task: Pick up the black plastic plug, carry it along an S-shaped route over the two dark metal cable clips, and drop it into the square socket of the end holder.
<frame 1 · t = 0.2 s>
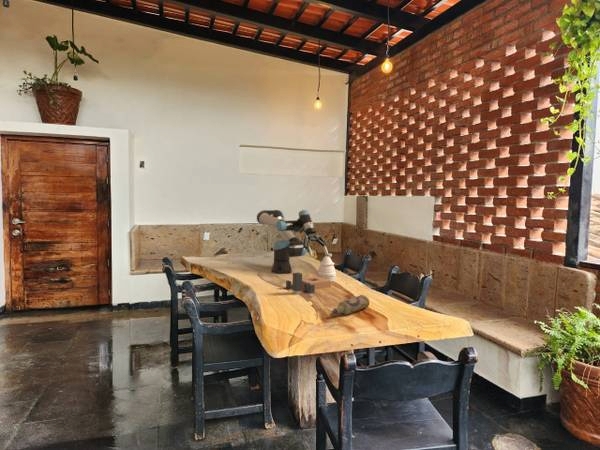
hand: (319, 255, 265), 16 cm above the table, tool tilted 35°, fingers open, 13 cm apart
clip b: (309, 291, 226), on the table
honey pot: (326, 280, 258), on the table
plug: (297, 293, 222), on the table
clip a: (291, 288, 234), on the table
end holder: (313, 285, 241), on the table
decorative bottle: (348, 312, 189), on the table
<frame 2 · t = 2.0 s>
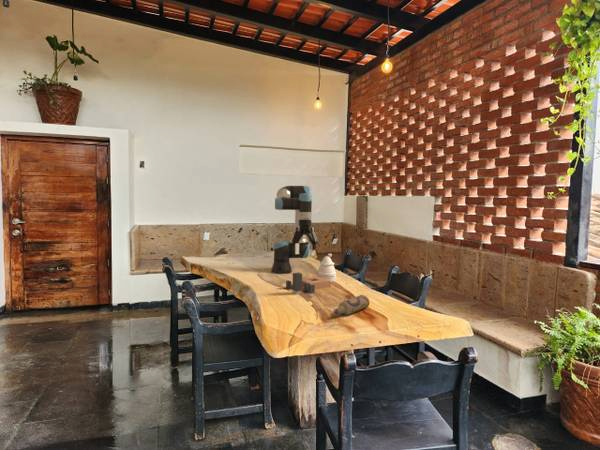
hand: (304, 254, 225), 22 cm above the table, tool pointing down, fingers open, 13 cm apart
nothing on the table moved.
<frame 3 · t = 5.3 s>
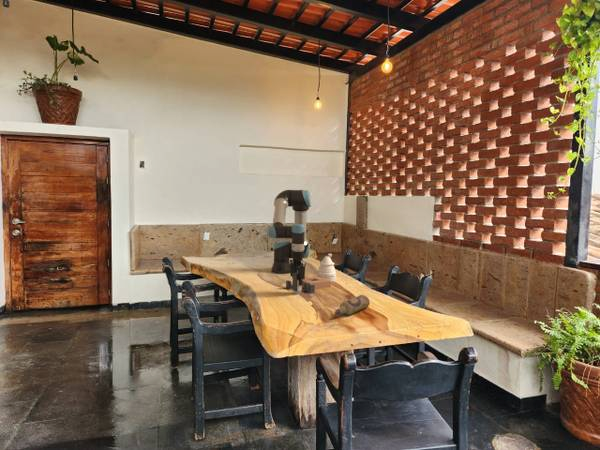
hand: (297, 289, 222), 2 cm above the table, tool pointing down, fingers closed on plug, 4 cm apart
plug: (297, 293, 222), on the table, touching gripper
everything else where it was.
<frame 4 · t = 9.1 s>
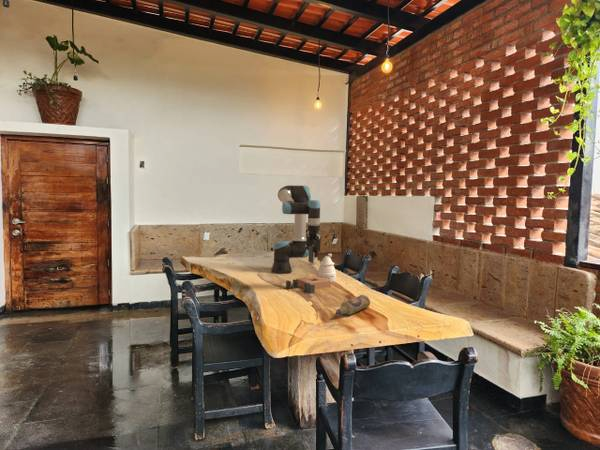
hand: (312, 261, 238), 16 cm above the table, tool pointing down, fingers closed on plug, 4 cm apart
plug: (312, 264, 238), point 14 cm above the table, touching gripper
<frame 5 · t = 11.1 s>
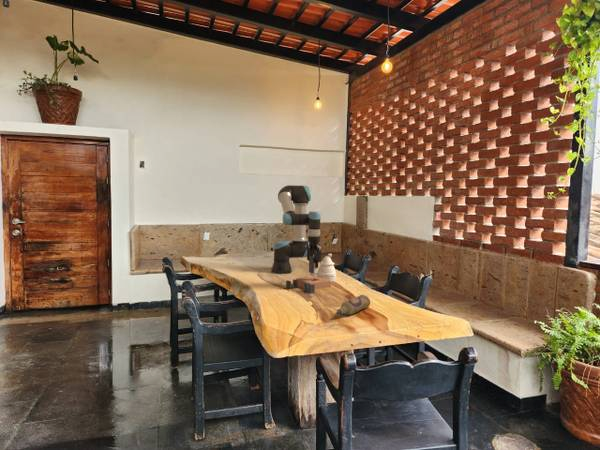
hand: (313, 272, 240), 9 cm above the table, tool pointing down, fingers closed on plug, 4 cm apart
plug: (313, 275, 240), point 7 cm above the table, touching gripper
when the fingers open (6 cm above the table, at t = 12.9 s): plug drops 4 cm, resting in end holder.
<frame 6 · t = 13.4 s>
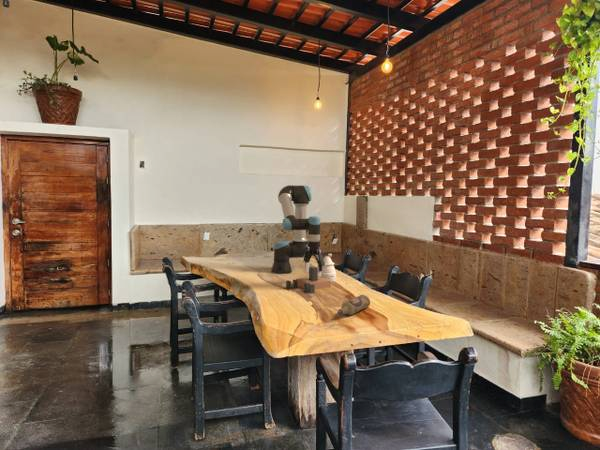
hand: (313, 274, 240), 7 cm above the table, tool pointing down, fingers open, 12 cm apart
plug: (313, 285, 241), resting in end holder
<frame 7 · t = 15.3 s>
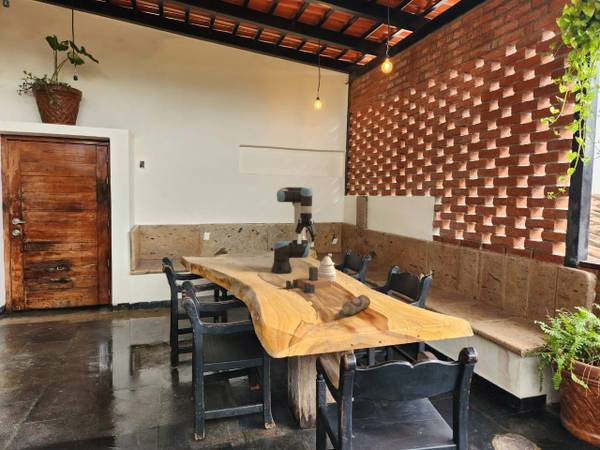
hand: (305, 245, 244), 25 cm above the table, tool pointing down, fingers open, 13 cm apart
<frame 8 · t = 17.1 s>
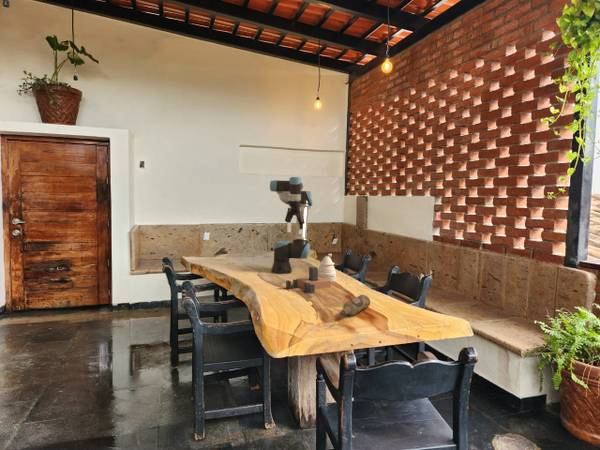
hand: (294, 233, 248), 33 cm above the table, tool pointing down, fingers open, 13 cm apart
at the end: plug 0.0 cm off-centre on the end holder, point 0.0 cm above the end holder's base; plug tilted 0°; the gripper is holding nothing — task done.
